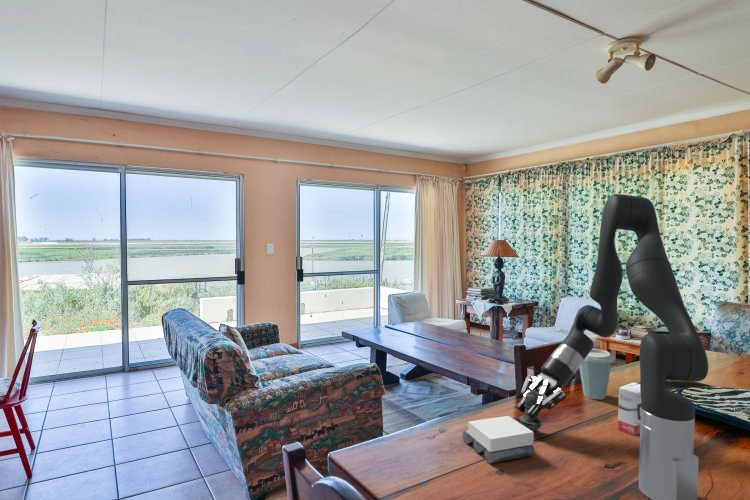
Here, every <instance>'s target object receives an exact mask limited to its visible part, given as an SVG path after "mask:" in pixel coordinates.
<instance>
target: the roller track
mask: <svg viewBox="0 0 750 500" xmlns="http://www.w3.org/2000/svg"><path fill="white" fill-rule="evenodd" d="M462 439H463V443H465V444H466V445H469V444H472V447H473V450H474V452H475V453H476V454H481V453H483V455H484V460H485V461H486V462H487V464H493V463H494V464H495V463H500V462H504V461H506V462H507V461H511V460H516V459H520V458H526V457H532V456H534V455H535V453H536V452H535V447H534V444H533V445H527V446H521V447H516V448H510V449H505V450H499V451H493V452H490V451H489V450H487V449H486V448H485V447H484V446H483V445H481V444H480V443H479V442H478V441H477V440H475V439H474V438H473V437H472V436H471V435H469V434H468V430H465V431H463V432H462Z"/></svg>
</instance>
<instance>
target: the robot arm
mask: <svg viewBox="0 0 750 500" xmlns="http://www.w3.org/2000/svg"><path fill="white" fill-rule="evenodd" d="M617 230H623V231H629V232H634V233H635V235H636V238H637V244H636V246H635V247H634V249H633V250H632V252H630V255H629V257H628V258H627V261H626V263H625V273H626V277H627V280H628V285H629V288H630V291H631V292H632V294H633V295H634V297H635V298H636V299H637V300H638V301H639V302H640V303H641V304H642V305H643V306H644V307H646V308H647V309H648V310H649V311H650V312H652V313H653V314H654V315H655V316H656V317H657V318H658V319H659V320H660V321H661V323H662V324H663V325H664V326H665V327H666V329H667V331H668V333H646V334H644V335H643V337H642V338H641V341H640V345H639V374H640V382H639V384H640V392H641V421H640V434H639V458H638V459H639V460H638V461H639V462H638V489H639V491H640V492H641V493H642V494H643V495H645V497H647V498H649V499H650V500H698V490H699V489H698V487H699V463H700V462H699V461H700V459H699V457H698V455H695V454H694V452H695V450H694V449H695V446H694V445H695V423H696V421H695V420H696V407H695V404H694V402H693V401H692V400H690V399H689V398H687V397H685V396H684V395H682V394H679V393H676V392H673V391H671V390H669V389H667V388H666V387H665V381H675V382H676V381H677V382H695V383H696V382H702V381H704V380H705V379H706V378H707V376H708V373H709V360H708V355H707V353H706V352H707V351H706V349H705V346H704V344H703V342H702V340H701V338H700V336H699V335H700V334H699V333H698V331H697V329H696V327H695V324H694V323H693V321H692V318H691V317H690V314H689V311H688V310H687V308H686V305H685V303H684V300H683V297H682V294H681V291H680V289H679V287H678V283H677V279H676V276H675V273H674V271H673V268H672V265H671V262H670V259H669V258H668V255H667V252H666V249H665V246H664V244H663V239H662V236H661V233H660V228H659V223H658V217H657V213H656V209H655V206H654V204H653V202H652V201H651V199H650V198H646V197H644V196H638V195H630V194H620V193H613V194H611V195H610V196H609V197H608V198H607V199H606V201H605V203H604V206H603V210H602V214H601V223H600V230H599V239H598V250H597V251H598V252H597V258H596V265H595V270H594V275H593V278H592V281H591V285H590V289H589V297H590V298H591V299H592V300H593V301H595V302H596V303H597V304H598V305H599V306H600V308H598V307H596V306H594V305H591V304H587V305H584V306H581V307H580V308H579V309H578V310H577V312H576V315H575V316H574V317H575V318H574V320H573V323H572V326H571V327H570V330H569V332H568V334H567V335H566V337H565V338H564V339H563V341H562V342H561V343H560V345H559V346H557V347H556V348H555V349H554V350H553V352H552V353H551V354H550V355H549V357H548V358H547V359H546V361H545V362H544V363H543V364H542V366H541V368H540V373H539V374H537V375H536V376H531V374H528V375H527V376H526V378H525V380H524V383H523V386H522V388H521V390H520V391H521V393H522V394H523V397H522V399H521V400H520V401H519V403H518V404H517V406H516V408H517V410H518V411H519V412H521V413H525V406H524V404H525V403H526V393H527V392H530V389H532V390H533V391H532V392H534V393H535V394H536V395H537V401H536V403H534V404H533V406H532V407H531V408H530V410H529V411H528V412H527V415H528V416H529V417H530V418H532V419H534V418H535V417H536V416H537V417H538V415H539V414H540V412H541V411H542V410H544V409H547V410H552V409H553V408H554V407H555V406H557V405H559V404H560V403H561V402H563V400H565V399H566V398H567V395H566V394H565V393H564V391H563V390H562V387H566V386H567V385H568V383H569V382H570V380H572V378H573V377H574V376H575V374H576V373H577V371H578V370H580V368H579V367H580V366H581V364H582V362H583V360H584V359H585V358H586V357H587V355H588V354H589V353H590V351H591V350H592V349H594V342H593V339H592V338H590V337H589V336H588V335H587V334H586V333H585V331H588V332H591V333H592V334H595V335H597V336H599V337H601V338H609V337H611V336H613V335H614V334H615V332H616V330H617V329H618V324H619V322H618V320H619V317H618V316H619V315H618V298H619V293H620V290H621V286H622V284H623V278H624V270H623V266H622V263H621V260H620V257H619V255H618V251H617V249H616V233H617Z"/></svg>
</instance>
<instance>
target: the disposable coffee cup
mask: <svg viewBox="0 0 750 500" xmlns="http://www.w3.org/2000/svg"><path fill="white" fill-rule="evenodd" d="M612 362H613V356H612V355H611V352H609V351H608V350H604V349H600V348H592V350H591V351H590V353H589V354H588V355H587V357H586V358H585V359H584V360H583V362H582V364H581V366H580V367H579V373H580V379H581V380H580V381H581V384H582V385H581V386H582V392H583V394H584V396H585V397H586V398H588V399H592V400H604V399H605V398H606V397H607V393H608V392H607V391H608V386H609V381H610V375H611V368H612Z"/></svg>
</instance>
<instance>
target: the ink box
mask: <svg viewBox="0 0 750 500" xmlns="http://www.w3.org/2000/svg"><path fill="white" fill-rule="evenodd" d="M617 421H618V422H617V423H618V424H617V429H618V430H619V431H622V432H624V433H626V434H627V433H628V434H629V435H632V436H637V435H640V421H641V392H640V383H637V382H631V383H629V384H625V385H622V386H620V387H619V388H618V415H617Z"/></svg>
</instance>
